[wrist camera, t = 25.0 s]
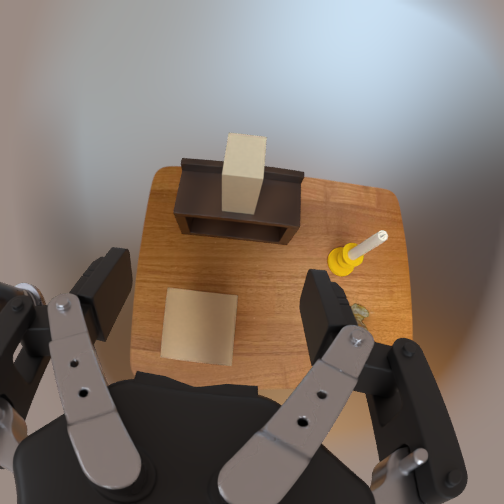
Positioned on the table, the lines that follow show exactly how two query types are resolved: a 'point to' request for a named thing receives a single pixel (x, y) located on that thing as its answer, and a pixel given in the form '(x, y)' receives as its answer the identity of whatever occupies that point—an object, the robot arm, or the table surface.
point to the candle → (353, 254)
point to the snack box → (243, 172)
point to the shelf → (231, 223)
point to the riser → (199, 326)
